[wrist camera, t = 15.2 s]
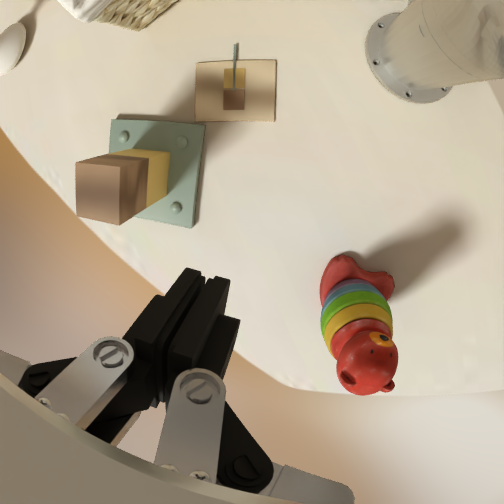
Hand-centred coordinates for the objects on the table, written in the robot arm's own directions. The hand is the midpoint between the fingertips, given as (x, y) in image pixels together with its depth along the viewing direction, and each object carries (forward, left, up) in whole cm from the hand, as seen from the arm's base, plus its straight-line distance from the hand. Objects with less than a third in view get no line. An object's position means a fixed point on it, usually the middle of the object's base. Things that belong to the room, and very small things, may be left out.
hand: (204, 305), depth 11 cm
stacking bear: (+14, +14, -28) cm, 35 cm away
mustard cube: (+2, -17, -27) cm, 32 cm away
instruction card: (-11, -7, -28) cm, 31 cm away
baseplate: (+2, -17, -28) cm, 33 cm away
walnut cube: (+2, -16, -21) cm, 27 cm away
